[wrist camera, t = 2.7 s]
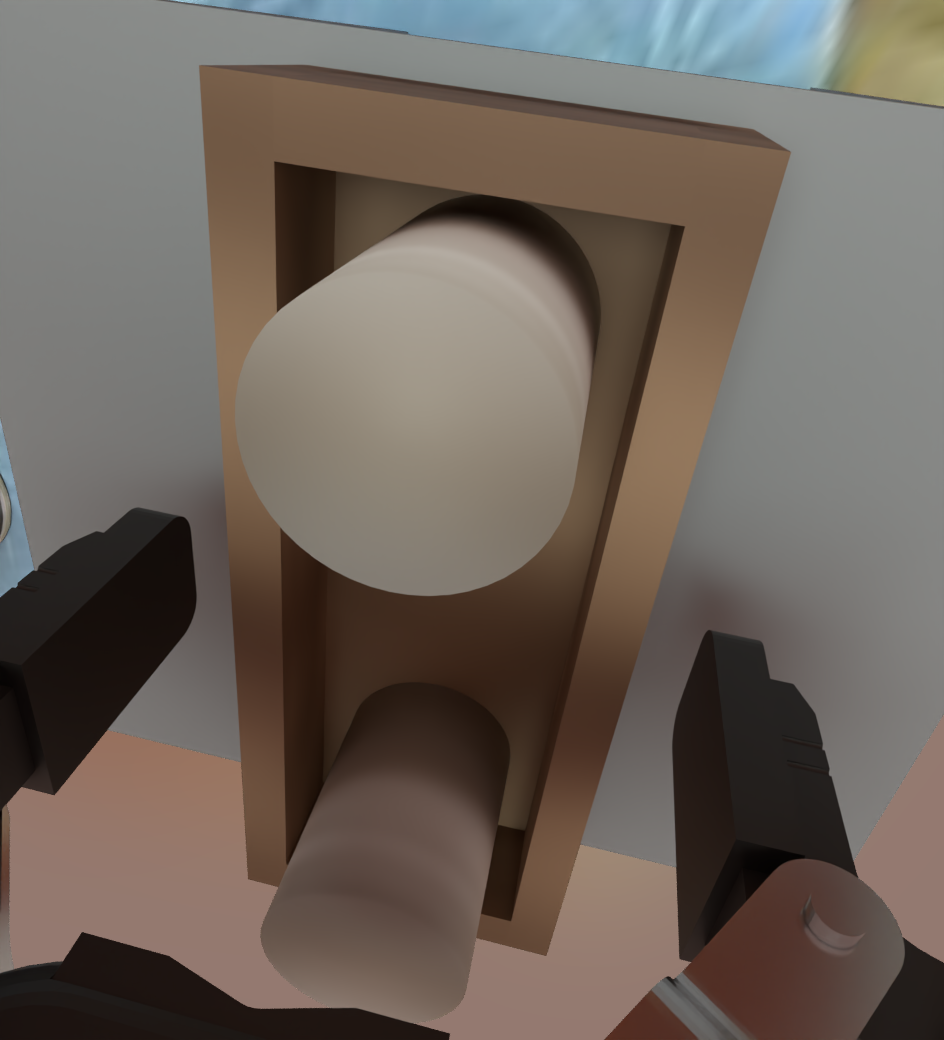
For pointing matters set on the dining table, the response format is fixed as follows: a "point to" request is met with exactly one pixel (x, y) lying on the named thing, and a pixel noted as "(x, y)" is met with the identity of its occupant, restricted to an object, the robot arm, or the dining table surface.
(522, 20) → the dining table surface
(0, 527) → the coffee can
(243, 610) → the tray
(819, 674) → the grey hollow frame
